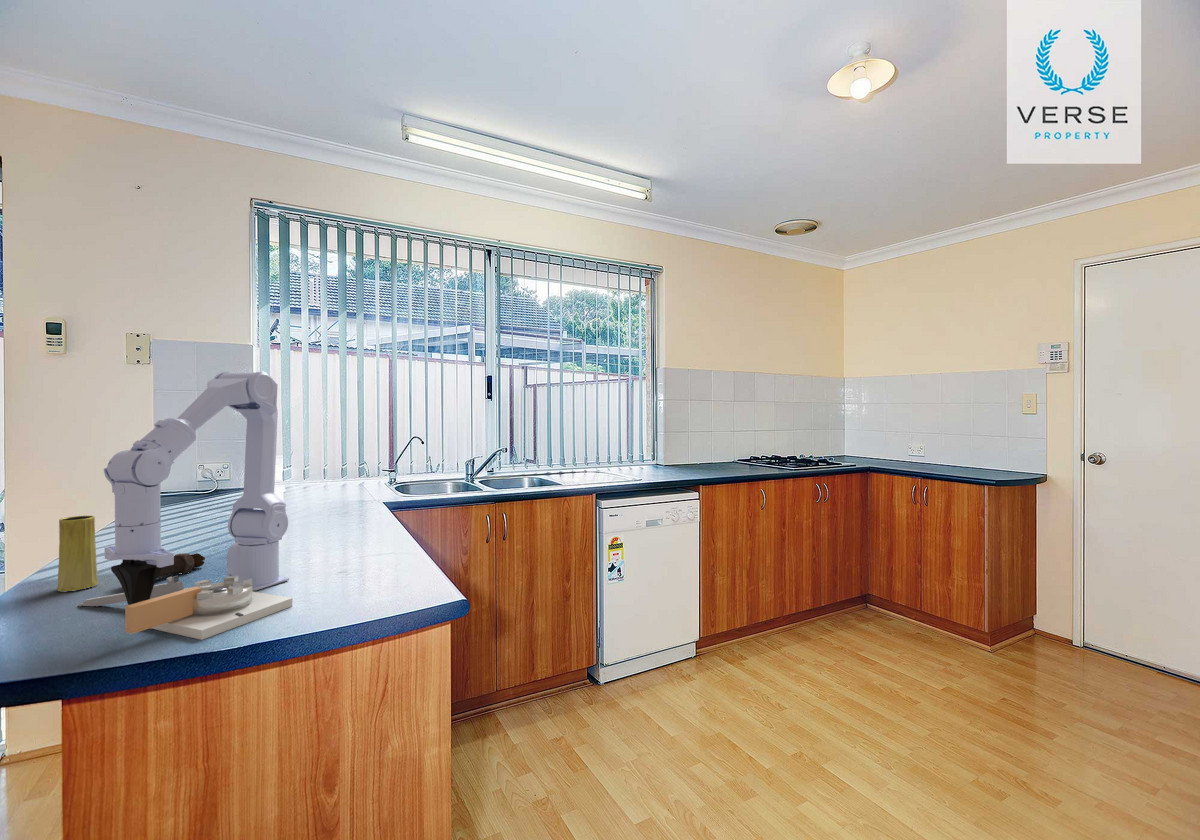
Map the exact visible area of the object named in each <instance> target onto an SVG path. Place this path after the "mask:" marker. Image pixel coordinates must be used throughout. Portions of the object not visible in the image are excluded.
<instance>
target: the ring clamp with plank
mask: <svg viewBox="0 0 1200 840" xmlns="http://www.w3.org/2000/svg"><path fill="white" fill-rule="evenodd" d="M252 599H253V597H252V579H251V578H246V579H242V581H238V576H227V575H226V577H223V581H221V582H215V583H211V580H210V579H209V580H208V579H203V580H199V581H195V582H194V586H191V587H186V588H185V587H184V589H183V590H181V591H177V592H174V593H170V594H166V595H163V596H159V597H156V598H152V599H149V600H145V601H142V602H138V603H134V604H131V605H128V604H127V605H125V606H124V608H125V609H124V610H125V611H124V612H125V613H124V614H125V616H124V618H125V619H124V620H125V622H124V626H125V629H124V631H125V633H127V634H136V633H140V632H143V631H146V630H148V629H151V628H152V627H155V626H158V625H161V624H164V623H167V622H171V621H174V620H177V619H180V618H183V617H186V616H189V615H192V614H196V615H200V614H213V613H219V612H224V611H229V610H233V609H236V608H239V607H242V606H244V605H246V604H248V603H250V602H251V601H252Z"/></svg>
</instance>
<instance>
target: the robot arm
mask: <svg viewBox="0 0 1200 840" xmlns="http://www.w3.org/2000/svg"><path fill="white" fill-rule="evenodd" d="M206 387H207V388H206V389H204V391H203V392H202V393H201V394H200V395H199V396H198V397H197V398H196V399H195V400H194V401H193V402H192V403H191V404H190V405H189V406H187V408H186V409H185V410H183V412H182V413H181V414H179V416H178V417H176V418H172V417H171V418H170V417H169V418H165V419H164V420H163V419H160V420H157V421H156V422H155V423H154V424H153V425H154V428H153V429H151V430H150V431H149V432H148V433H147V434H146V435H144V436H143V437H142V438H141V439H140V440H136V441H134V443H132V446H131V448H130V450H129V449H128V450H127V449H126V450H122V451H118V452H117V453H115V454H113V456H112V457H111V459H109V461H108V463H107V466H106V467H104V468H103V474H104V477H105V478H106V480H107V481H108V482H109V483H110V484H111V492H112V493H113V495H114V545H111V546H105V547H104V559H105V560H108V561H117V560H118V561H119V560H121V561H122V562H120V564H116V565H113V566H111V567H110V572H111V573H112V574H113V575H114V576H115V577H116V578H117V581H118V582H119V583H120V585H121V588H122V590H123V593H125V597H126V600H127V601H126V603H127V605H131V604H134V603H138V602H142V601H145V600H149V599H150V597H151V593H152V590H153V587H154V585H156V584H155V583H156V581H157V579H158V578H157V577H158V575H159V573H160V572H161V570H162V569H163V567H165V566H169V565H173V564H174V556H175V554H174V553H175V552H172V551H169V550H167V549H166V548H164V547H163V546H162V540H161V539H162V535H161V534H162V533H161V532H162V531H161V530H162V529H161V526H162V525H161V524H162V522H161V520H162V519H161V512H162V511H161V483H162V482H164V481H165V480H167V478H169V475H170V473H171V468H172V465H173V464H175V462H174V461H176V459H178V458H179V457H180V455H181V454H184V453H183V452H185V451H186V450H187V449H188V448H189V447H190V446H191V445H192V444H194V442H195V441H196V440H197V435H196V432H197V430H199V429H200V428H201V427H202V426H203V425H205V424H206V423H207V422H208V421H210V420H211V419H212V418H213V417H214V416H216V415H217V414H219V413H220V412H221V411H222V410H223V409H224V408H226V407H229V408H230V409H232V410H235V411H236V412H238V413H239V414H241V416H243V417H244V418H245V419H246V429H245V430H246V433H245V454H244V455H245V456H244V457H245V458H244V470H243V471H244V475H243V478H244V479H243V493H242V494H243V495H241V497H239V498H238V499H237V500H236V501H234V502H233V504H232V512H231V515H230V517H229V519H228V523H227V530H228V533H229V534H230V536H231V537H232V538H234V542H233V544H231V546H230V547H229V548H228V550H227V553H226V577H227V576H238V581H242V579H246V578H251V579H252V591H253V592H257V591H258V590H262V589H265V588H269V587H271V586H274V585H275V586H276V585H278V584H280V583H284V582H287V581H289V580H290V577H286V576H280V558H279V557H280V541H282V540H283V536H284V535H285V534H286V532H287V530H288V527H289V517H288V514H287V511H286V503H285V502H284V501H283V500H282V499H281V498H279V497H278V496H277V495H276V494H275V481H276V462H277V461H276V457H277V439H278V438H277V437H278V436H277V435H278V415H279V414H278V411H279V410H278V407H277V404H278V384H277V382H276V381H275V379H273V378H272V376H270V374H268V373H267V372H265V371H256V372H255V371H254V372H229V371H228V372H227V371H223V372H222V371H221V372H219V373H217V374H216V375H215V376H214V377H213V378H212V379H210V380H209V381H207V386H206Z"/></svg>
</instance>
